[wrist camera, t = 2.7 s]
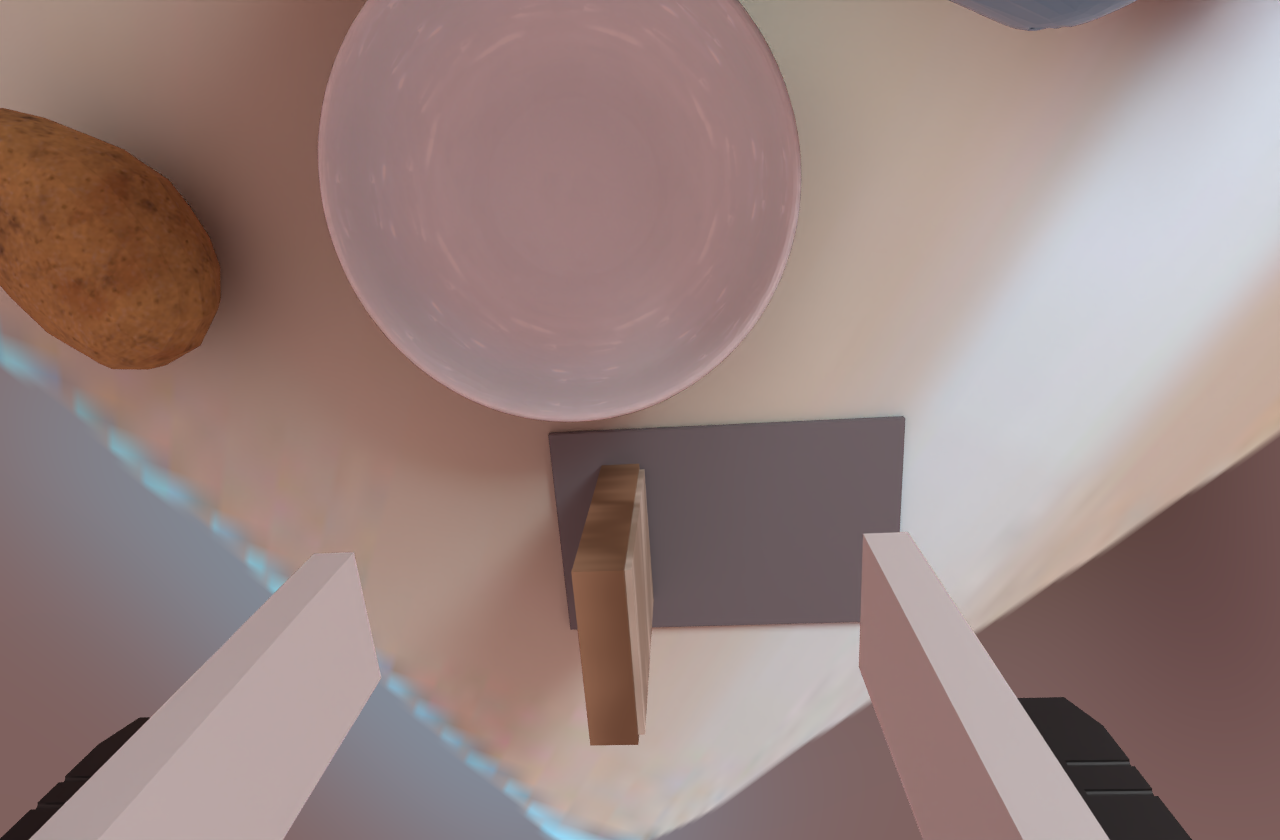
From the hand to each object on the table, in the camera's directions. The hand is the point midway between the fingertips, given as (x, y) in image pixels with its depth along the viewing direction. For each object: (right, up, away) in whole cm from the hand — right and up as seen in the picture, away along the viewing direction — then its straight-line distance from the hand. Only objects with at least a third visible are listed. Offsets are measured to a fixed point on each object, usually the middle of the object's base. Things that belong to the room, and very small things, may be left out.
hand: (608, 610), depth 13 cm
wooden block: (0, -3, +30) cm, 30 cm away
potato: (-26, +14, +26) cm, 40 cm away
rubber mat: (+6, -3, +30) cm, 30 cm away
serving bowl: (-3, +15, +24) cm, 29 cm away
